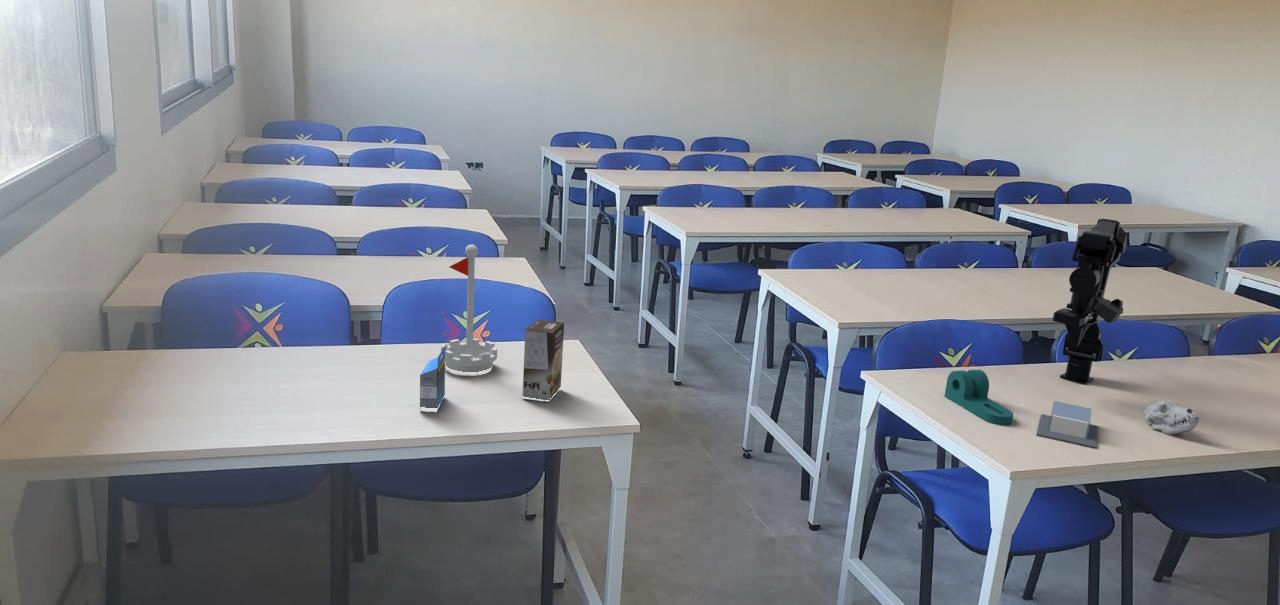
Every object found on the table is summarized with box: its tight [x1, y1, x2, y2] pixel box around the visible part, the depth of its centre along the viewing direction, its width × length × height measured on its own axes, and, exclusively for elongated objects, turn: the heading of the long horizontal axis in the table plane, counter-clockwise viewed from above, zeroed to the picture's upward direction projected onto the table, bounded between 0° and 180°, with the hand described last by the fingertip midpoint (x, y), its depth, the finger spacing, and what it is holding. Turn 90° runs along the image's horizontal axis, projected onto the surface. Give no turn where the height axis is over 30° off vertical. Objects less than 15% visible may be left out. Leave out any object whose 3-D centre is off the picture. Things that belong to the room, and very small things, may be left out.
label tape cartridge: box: [419, 343, 447, 408], centre depth 196 cm, size 9×4×12 cm, turn 1°
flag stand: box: [440, 244, 498, 372], centre depth 217 cm, size 13×13×30 cm
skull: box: [1143, 399, 1200, 435], centre depth 212 cm, size 8×9×12 cm
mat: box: [1036, 413, 1099, 450], centre depth 208 cm, size 14×12×1 cm
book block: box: [1048, 400, 1092, 439], centre depth 210 cm, size 4×8×11 cm
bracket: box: [944, 369, 1014, 426], centre depth 217 cm, size 18×7×8 cm, turn 18°
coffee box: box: [522, 319, 565, 400], centre depth 206 cm, size 9×6×16 cm
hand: (1074, 346), depth 227 cm, fingers closed
